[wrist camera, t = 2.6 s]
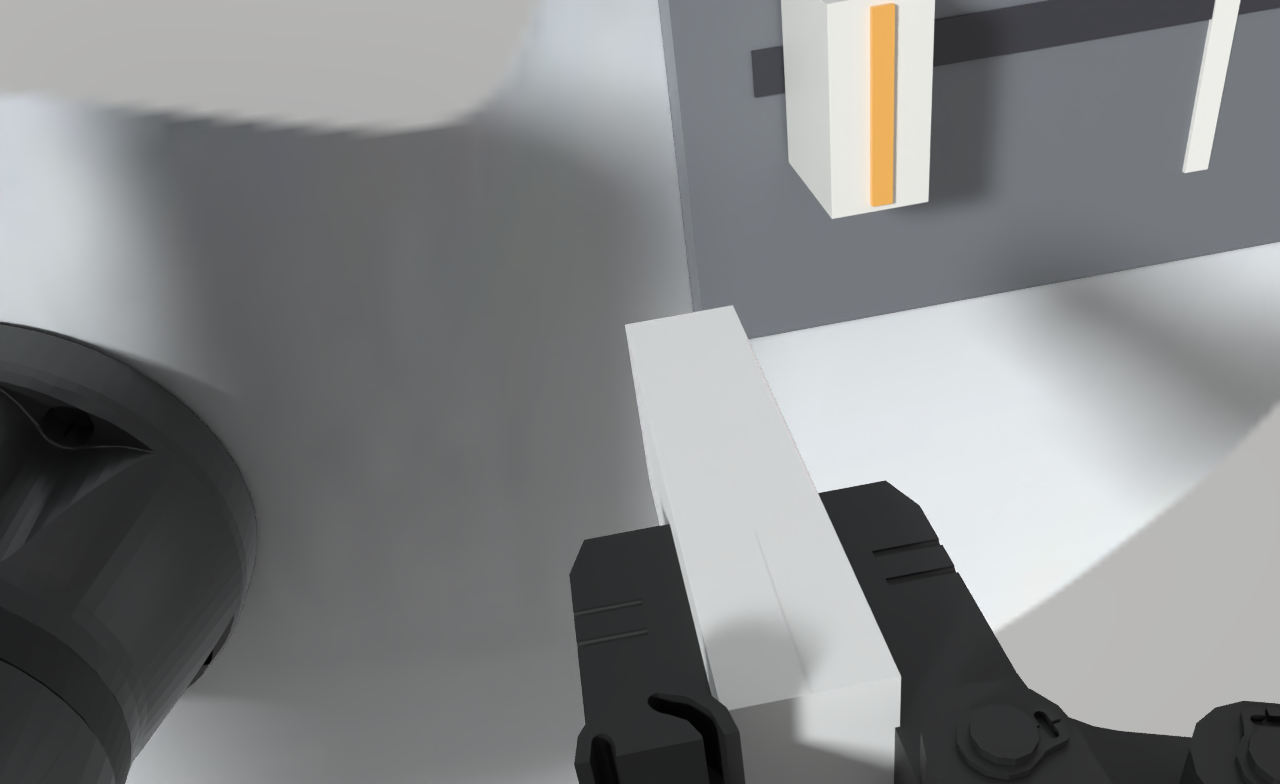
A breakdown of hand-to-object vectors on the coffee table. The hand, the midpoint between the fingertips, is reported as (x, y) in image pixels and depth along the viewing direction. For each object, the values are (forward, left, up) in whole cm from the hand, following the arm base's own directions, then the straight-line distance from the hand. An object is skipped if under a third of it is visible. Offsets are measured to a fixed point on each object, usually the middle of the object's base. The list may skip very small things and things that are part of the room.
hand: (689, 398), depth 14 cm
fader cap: (+6, 0, -14) cm, 15 cm away
